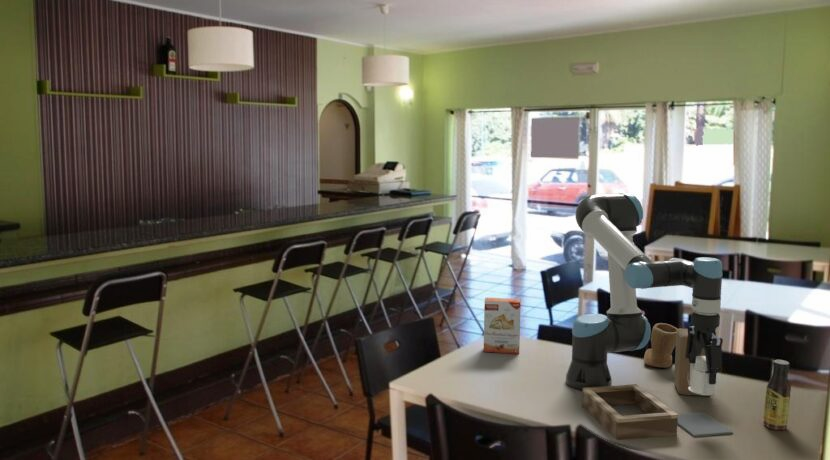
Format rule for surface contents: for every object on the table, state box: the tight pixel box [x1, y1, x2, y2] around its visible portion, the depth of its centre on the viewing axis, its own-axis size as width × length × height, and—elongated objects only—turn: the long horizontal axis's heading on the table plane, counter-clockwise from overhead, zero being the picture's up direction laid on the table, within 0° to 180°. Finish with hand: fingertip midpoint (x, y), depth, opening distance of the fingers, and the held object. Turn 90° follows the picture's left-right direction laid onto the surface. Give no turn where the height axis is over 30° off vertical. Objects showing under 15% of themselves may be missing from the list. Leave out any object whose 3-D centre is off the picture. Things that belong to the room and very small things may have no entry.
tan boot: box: [643, 322, 678, 368], centre depth 251 cm, size 15×12×15 cm
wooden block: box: [673, 327, 711, 397], centre depth 223 cm, size 10×10×20 cm
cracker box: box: [483, 297, 522, 355], centre depth 265 cm, size 14×6×21 cm, turn 80°
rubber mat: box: [677, 411, 734, 438], centre depth 198 cm, size 14×12×1 cm
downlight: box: [687, 356, 718, 396], centre depth 196 cm, size 8×7×10 cm
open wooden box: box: [581, 383, 679, 441], centre depth 202 cm, size 24×18×6 cm
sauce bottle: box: [762, 359, 792, 431], centre depth 195 cm, size 6×6×20 cm
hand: (701, 389), depth 196 cm, fingers closed on downlight, 7 cm apart
